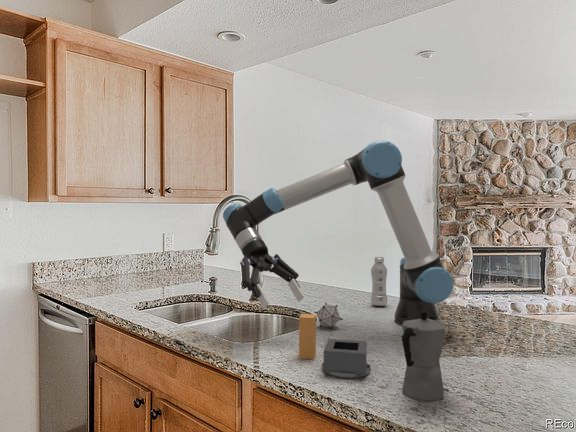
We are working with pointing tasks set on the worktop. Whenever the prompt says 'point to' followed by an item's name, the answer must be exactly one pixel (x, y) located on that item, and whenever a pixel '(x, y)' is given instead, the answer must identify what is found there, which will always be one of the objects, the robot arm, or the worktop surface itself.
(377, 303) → the plastic bottle
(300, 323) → the orange rectangular block
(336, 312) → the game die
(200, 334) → the worktop surface
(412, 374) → the coffeepot
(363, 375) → the socket collar
